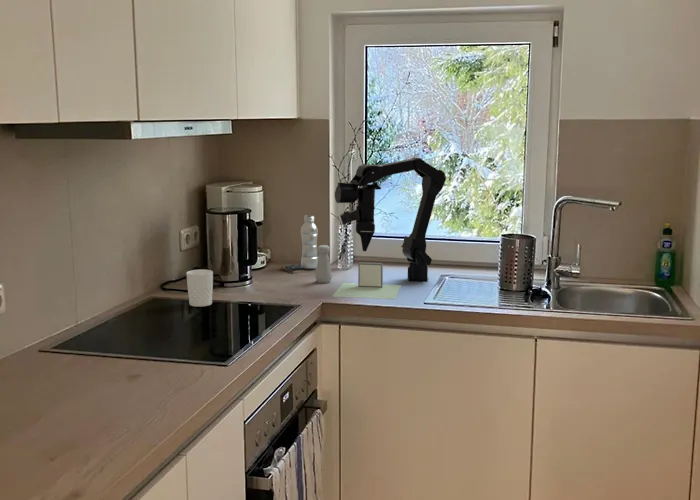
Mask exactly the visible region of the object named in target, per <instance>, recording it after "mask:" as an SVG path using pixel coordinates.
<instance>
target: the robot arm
mask: <svg viewBox="0 0 700 500" xmlns="http://www.w3.org/2000/svg"><path fill="white" fill-rule="evenodd" d="M411 171H414V172H415V173H416V174H417V175H418V176H419V177H420V178H421V189H422V196H421V198H420V203H419V206H418V209H417V212H416V217H415V219H414V224H413V226H412V227H413V228H412V231H411V233H410V234H409V236H406V235H405V236H404V237H403V242H402V244H401V246H400V247H401V248H402V254H403V255H404V256H405V258H406V261H407V262H408V263H409V265H408V267H407V280H408V282H413V283H415V282H419V283H420V282H421V283H427V282H429V281H428V280H429V266H430V265H431V264H432V261H433V259H432V258H431V257H430V256H429V254H428V253H427V252H426V251H427V240H426V235H427V232H428V227H429V224H430V220H431V217H432V212H433V209H434V206H435V201H436V199H437V197H438V195H439V193H441V191H442V190H443V188H444V185H445V182H446V180H447V176H446V173H445V172H444V171H443V170H441V169H437V168H436V167H435V166H432V165H431V164H430V163H427V161H425V160H424V159H422V158H421V157H415V156H414V157H410V158H409V159H408V158H407V159H403V160H398V161H397V160H396V161H393V162H388V163H383V164H361V165H359V166H358V167H357V168H356V172H355V175H354V176H353V177H352V179H351V180H350V181H349V182H341V181H339V182H337V186H336V188H335V191H334V199H335V202H336V204H354V203H355V202H356V201H357V205H356V206H355V207H356V209H354V210H353V209H352V210H350V211H349V210H347V211H344V212H343V213H341V214H339V217H340V219H341V223H342V225H347V224H348V223H351V222H354V221H355V232H356V233H357V234H358V235H359V236H360V242H361V247H362V252H366V251H367V250H368V248H369V245H370V244H371V241H372V239H373V236H374V235H375V231H376V225H375V203H376V202H375V201H376V200H375V199H376V198H375V197H376V190H381V189H382V187H381V186H380V185H379V184H378V181H380V180H382V179H383V178H385V177H388V176H392V175H397V174H402V173H406V172H411Z"/></svg>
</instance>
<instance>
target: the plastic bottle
mask: <svg viewBox="0 0 700 500" xmlns="http://www.w3.org/2000/svg"><path fill="white" fill-rule="evenodd" d="M303 221H304V223H303V224H302V225H301V227H300V237H301V245H302V246H301V248H302V249H301V260H300V264H301V265H300V266H301V267H302V268H303V269H307V270H314V269H317V263H318V257H319V255H318V252H317V248H318V245H317V244H318V234H319V229H318V226H317V225H316V223H315V215H304V217H303Z"/></svg>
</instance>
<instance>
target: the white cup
mask: <svg viewBox="0 0 700 500" xmlns="http://www.w3.org/2000/svg"><path fill="white" fill-rule="evenodd" d="M185 275H186V285H187V292H188V293H187V295H188V301H189V303H188V304H189V305H190V307H191V306H192V307H197V308H198V307H200V308H201V307H208V306H211V305H212V304H213V288H214V286H213V285H214V271H213V270H210V269H192V270H188V271H186V274H185Z"/></svg>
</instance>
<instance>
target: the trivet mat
mask: <svg viewBox="0 0 700 500" xmlns="http://www.w3.org/2000/svg"><path fill="white" fill-rule="evenodd" d="M401 287H402V285H401V284H383V287H382V288H378V287H358V283H357V282H356V283H352V282H343V283H341V285H340V286H339V288H338V289H337V290H336V291H335V292H334V293H333V295H332V296H331V297H334V298H335V297H337V298H357V299H382V300H383V299H385V300H396V299H397V296H398V294H399V292H400V290H401Z"/></svg>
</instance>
